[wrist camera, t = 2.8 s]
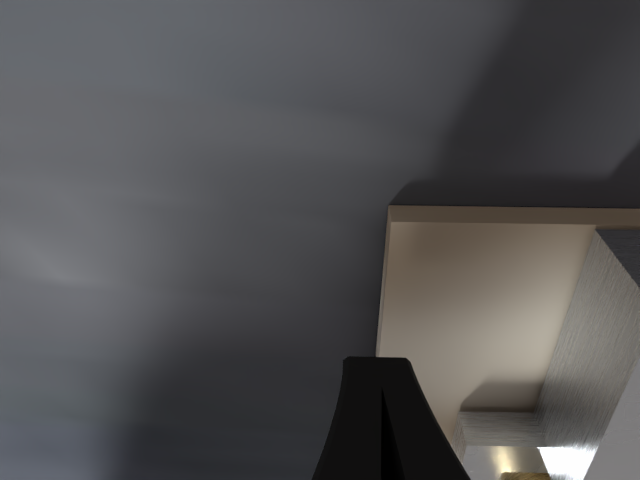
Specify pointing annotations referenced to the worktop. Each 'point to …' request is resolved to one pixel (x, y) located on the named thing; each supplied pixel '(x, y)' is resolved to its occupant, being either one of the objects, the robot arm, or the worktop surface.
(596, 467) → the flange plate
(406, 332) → the board
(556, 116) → the worktop surface
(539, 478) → the post
